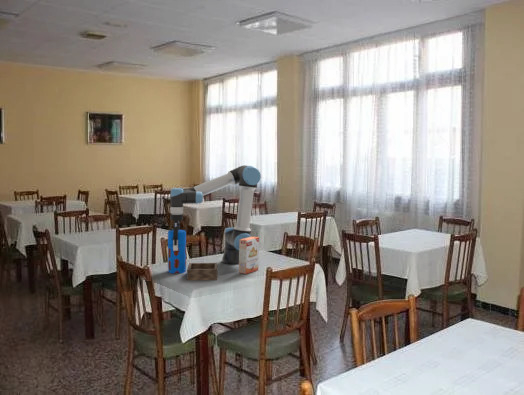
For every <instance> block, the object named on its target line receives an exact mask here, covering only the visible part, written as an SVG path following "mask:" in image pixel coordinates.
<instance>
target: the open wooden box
mask: <svg viewBox="0 0 524 395" xmlns="http://www.w3.org/2000/svg"><path fill="white" fill-rule="evenodd" d="M186 280H187V281H199V280H200V281H207V280H208V281H210V280H214V281H215V280H216V281H217V280H218V263H217V262H189V263H188V265H187V267H186Z"/></svg>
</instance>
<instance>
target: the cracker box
mask: <svg viewBox="0 0 524 395" xmlns="http://www.w3.org/2000/svg"><path fill="white" fill-rule="evenodd" d="M259 257H260V237H259V236H251V237H248V238H244V239H240V240H239V264H238V273H239V274H243V275H248V274H250V273H253V272H256V271H259V263H260V262H259V259H260V258H259Z"/></svg>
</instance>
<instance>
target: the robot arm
mask: <svg viewBox="0 0 524 395" xmlns="http://www.w3.org/2000/svg"><path fill="white" fill-rule="evenodd" d="M261 178H262V175H261V171H260V170H259V169H258V168H257V167H256V166H253V165H241V166H238V167H236V168H233V169H231V170H229V171H228V172H227V173H225V174H223V175H220V176H218V177H216V178H212V179H211V180H208V181H205V182H202V183H200V184H198V185H195V186H192V187H190V188H185V189H183V188H179V187H174V188H171V189H170V208H169V210H170V221H172V222H173V221H174V222H173V223H172V228H173V229H172V230H173V238H172V240H173V251H178V230H181V228H180V227H181V222H180V221H183V220H184V214H183V213H184V205H187V204H189V205H190V204H191V205H195V204H196V205H197V204H202V203H203V200H204V196H206V195H209V194H211V193H213V192H216V191H219V190H221V189H223V188H227V187H228V186H231V185H232V186H235V185H238V187H239V189H240V192H239V201H238V207H237V208H238V209H237V217H236V225H235V226H234V227H226V228H225V229H224V252H223V255H222V258H221V262H222V263H224V264H228V265H229V264H230V265H237V264H238V265H239V240H240V239H244V238H248V237H252V229H251V228H250V225H251V219H252V218H251V217H252V209H253V203H254V202H253V201H254V192H255V190H257V189H258V188H257V187H258V183H260V181H261Z"/></svg>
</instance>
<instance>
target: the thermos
mask: <svg viewBox="0 0 524 395" xmlns="http://www.w3.org/2000/svg"><path fill="white" fill-rule="evenodd" d="M172 238H173V229H171V230H168V232H167V260H168V261H167V268H168V269H167V270H168V273H169V274H174V273H178V274H184V273H187V232H186V230H184V229H180V230H178V251H173V240H172Z"/></svg>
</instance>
